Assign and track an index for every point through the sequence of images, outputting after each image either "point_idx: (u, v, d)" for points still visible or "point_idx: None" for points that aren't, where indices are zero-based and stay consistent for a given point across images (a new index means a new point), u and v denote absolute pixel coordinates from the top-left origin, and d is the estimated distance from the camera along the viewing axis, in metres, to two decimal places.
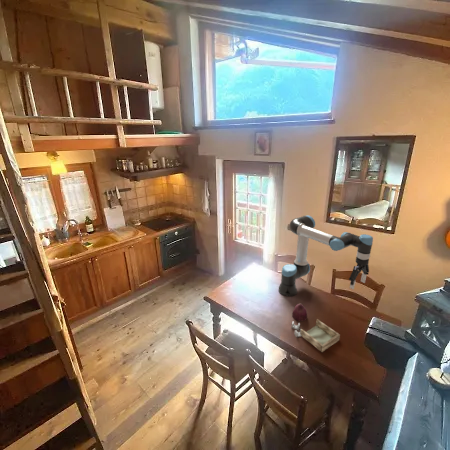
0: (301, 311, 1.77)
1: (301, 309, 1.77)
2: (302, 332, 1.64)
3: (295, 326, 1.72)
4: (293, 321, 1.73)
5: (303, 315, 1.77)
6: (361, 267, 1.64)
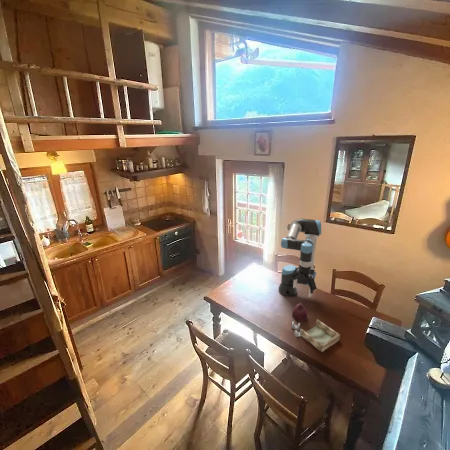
0: (301, 311, 1.77)
1: (301, 309, 1.77)
2: (302, 332, 1.64)
3: (295, 326, 1.72)
4: (293, 321, 1.73)
5: (303, 315, 1.77)
6: (300, 272, 1.71)
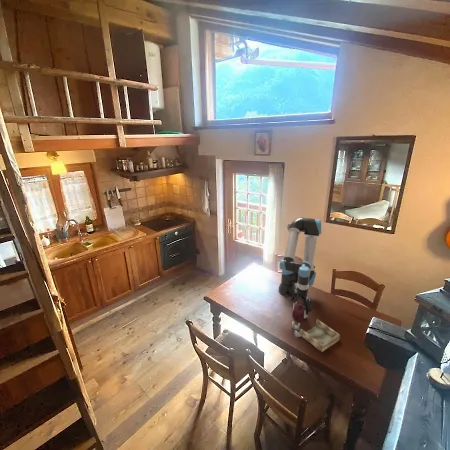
0: (301, 311, 1.77)
1: (301, 309, 1.77)
2: (302, 332, 1.64)
3: (295, 326, 1.72)
4: (293, 321, 1.73)
5: (303, 315, 1.77)
6: (298, 294, 1.77)
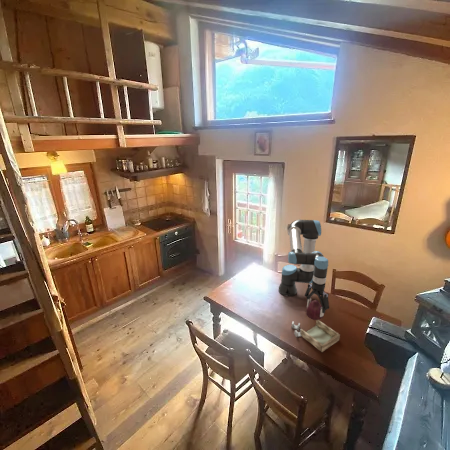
0: (317, 308, 1.53)
1: (317, 306, 1.53)
2: (302, 332, 1.64)
3: (295, 326, 1.72)
4: (293, 321, 1.73)
5: (319, 313, 1.54)
6: (313, 289, 1.54)
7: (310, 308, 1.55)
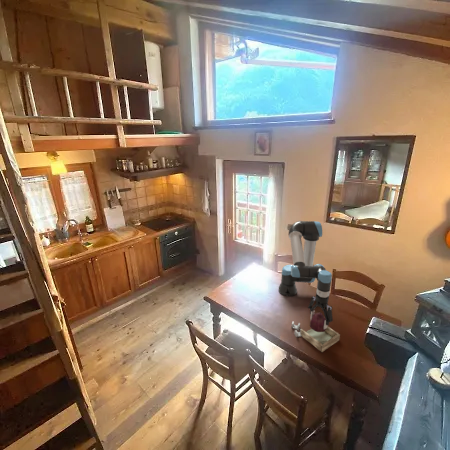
0: (320, 320, 1.56)
1: (320, 319, 1.56)
2: (302, 332, 1.64)
3: (295, 326, 1.72)
4: (293, 321, 1.73)
5: (323, 325, 1.57)
6: (317, 302, 1.57)
7: (314, 320, 1.58)
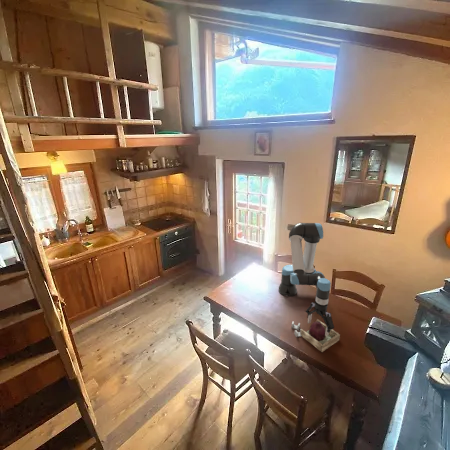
0: (319, 329, 1.59)
1: (319, 328, 1.59)
2: (302, 332, 1.64)
3: (295, 326, 1.72)
4: (293, 321, 1.73)
5: (321, 334, 1.59)
6: (316, 309, 1.59)
7: (313, 329, 1.61)
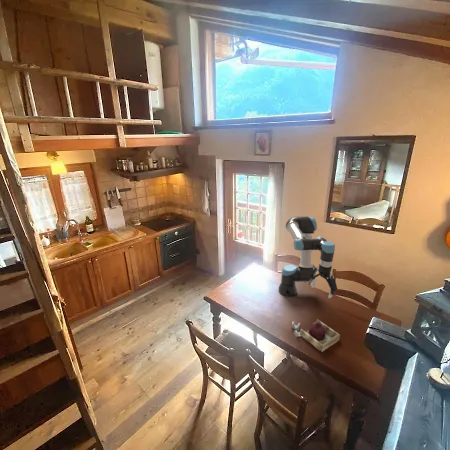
0: (319, 329, 1.59)
1: (319, 328, 1.59)
2: (302, 332, 1.64)
3: (295, 326, 1.72)
4: (293, 321, 1.73)
5: (321, 334, 1.59)
6: (320, 272, 1.63)
7: (313, 329, 1.61)
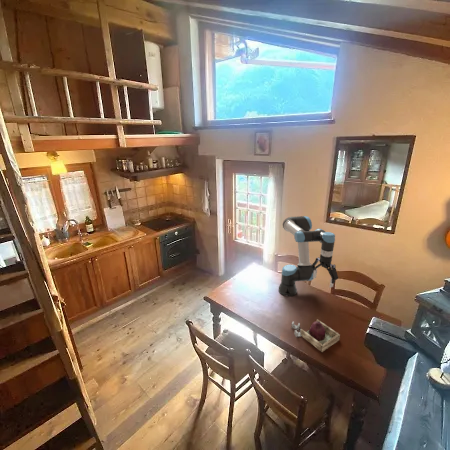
0: (319, 329, 1.59)
1: (319, 328, 1.59)
2: (302, 332, 1.64)
3: (295, 326, 1.72)
4: (293, 321, 1.73)
5: (321, 334, 1.59)
6: (321, 262, 1.69)
7: (313, 329, 1.61)
